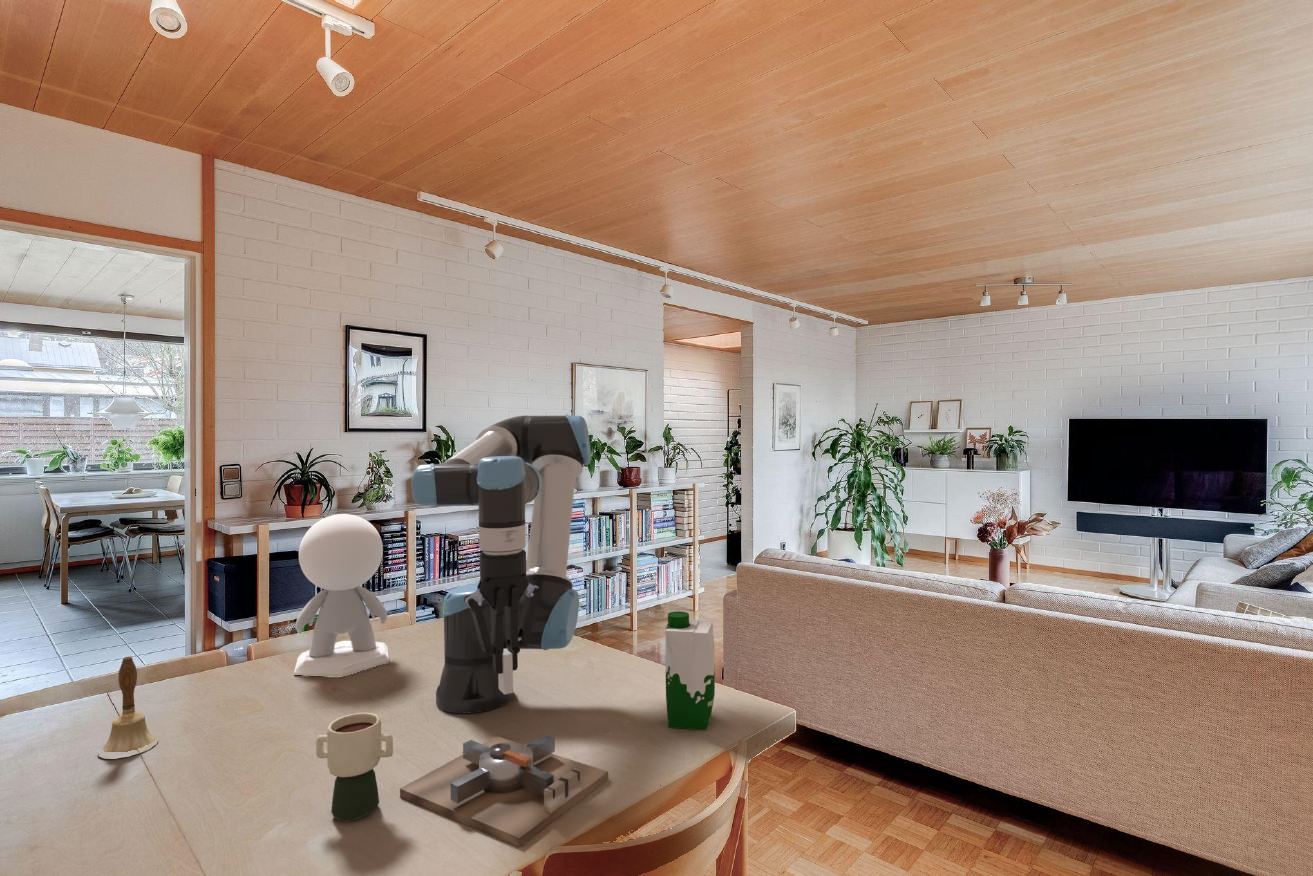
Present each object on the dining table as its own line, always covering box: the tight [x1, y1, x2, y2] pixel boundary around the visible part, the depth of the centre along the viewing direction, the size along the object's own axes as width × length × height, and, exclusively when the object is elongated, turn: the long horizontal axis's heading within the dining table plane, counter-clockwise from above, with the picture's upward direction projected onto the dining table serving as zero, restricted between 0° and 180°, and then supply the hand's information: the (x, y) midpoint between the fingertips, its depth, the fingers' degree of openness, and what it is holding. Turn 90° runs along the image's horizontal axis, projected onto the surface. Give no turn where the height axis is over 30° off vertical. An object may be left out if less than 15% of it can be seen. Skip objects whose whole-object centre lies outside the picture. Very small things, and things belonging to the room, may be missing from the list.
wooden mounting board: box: [399, 735, 609, 848], centre depth 104 cm, size 24×20×4 cm
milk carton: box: [664, 610, 716, 731], centre depth 127 cm, size 9×9×20 cm
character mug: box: [315, 712, 394, 821], centre depth 97 cm, size 11×7×13 cm, turn 91°
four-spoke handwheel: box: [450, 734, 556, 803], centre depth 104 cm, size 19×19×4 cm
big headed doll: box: [293, 513, 390, 678], centre depth 161 cm, size 20×23×35 cm
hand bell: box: [102, 656, 157, 752], centre depth 118 cm, size 8×8×16 cm
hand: (505, 690), depth 113 cm, fingers closed
